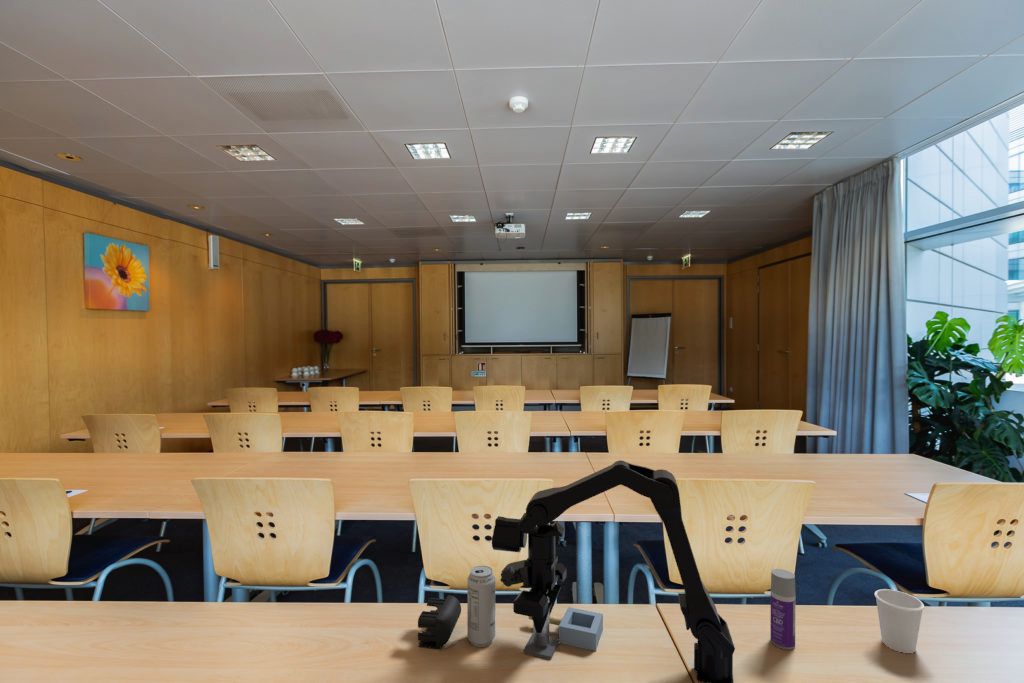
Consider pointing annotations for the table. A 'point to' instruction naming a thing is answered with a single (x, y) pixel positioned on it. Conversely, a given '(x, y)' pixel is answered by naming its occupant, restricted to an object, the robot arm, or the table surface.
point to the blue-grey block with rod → (579, 628)
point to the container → (783, 608)
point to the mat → (541, 648)
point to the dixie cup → (899, 619)
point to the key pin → (542, 634)
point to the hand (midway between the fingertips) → (541, 627)
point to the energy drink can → (481, 606)
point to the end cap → (438, 622)
